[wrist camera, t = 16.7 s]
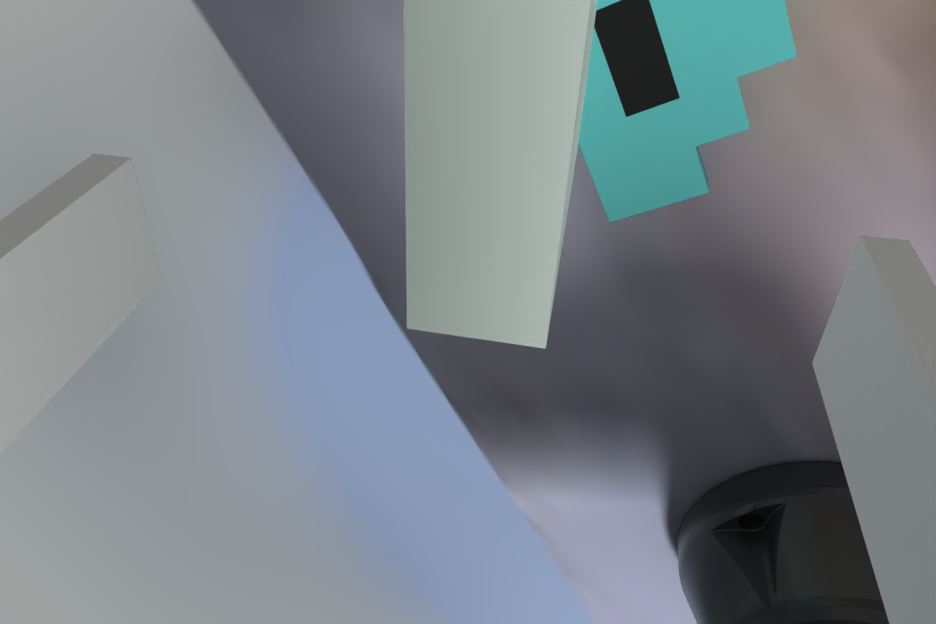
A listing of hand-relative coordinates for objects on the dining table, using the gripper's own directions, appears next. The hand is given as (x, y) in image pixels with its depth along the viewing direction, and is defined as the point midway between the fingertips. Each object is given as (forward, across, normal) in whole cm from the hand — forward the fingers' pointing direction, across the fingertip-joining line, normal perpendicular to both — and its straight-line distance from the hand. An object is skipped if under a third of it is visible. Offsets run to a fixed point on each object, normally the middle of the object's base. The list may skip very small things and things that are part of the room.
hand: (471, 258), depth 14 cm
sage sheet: (+19, 0, 0) cm, 19 cm away
